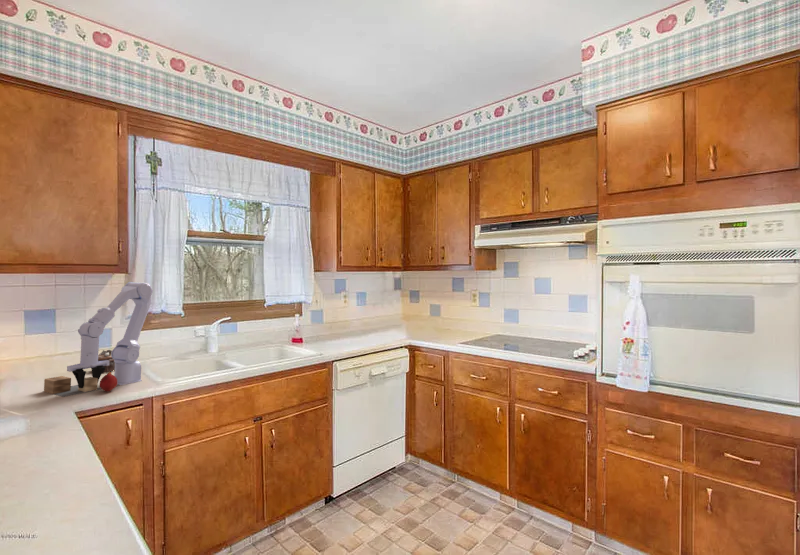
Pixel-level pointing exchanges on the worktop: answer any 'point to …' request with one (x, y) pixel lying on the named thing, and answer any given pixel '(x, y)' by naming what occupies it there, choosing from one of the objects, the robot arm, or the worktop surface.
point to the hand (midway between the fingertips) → (87, 386)
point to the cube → (89, 384)
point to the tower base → (57, 389)
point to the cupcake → (107, 356)
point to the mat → (72, 391)
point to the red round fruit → (108, 382)
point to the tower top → (57, 381)
